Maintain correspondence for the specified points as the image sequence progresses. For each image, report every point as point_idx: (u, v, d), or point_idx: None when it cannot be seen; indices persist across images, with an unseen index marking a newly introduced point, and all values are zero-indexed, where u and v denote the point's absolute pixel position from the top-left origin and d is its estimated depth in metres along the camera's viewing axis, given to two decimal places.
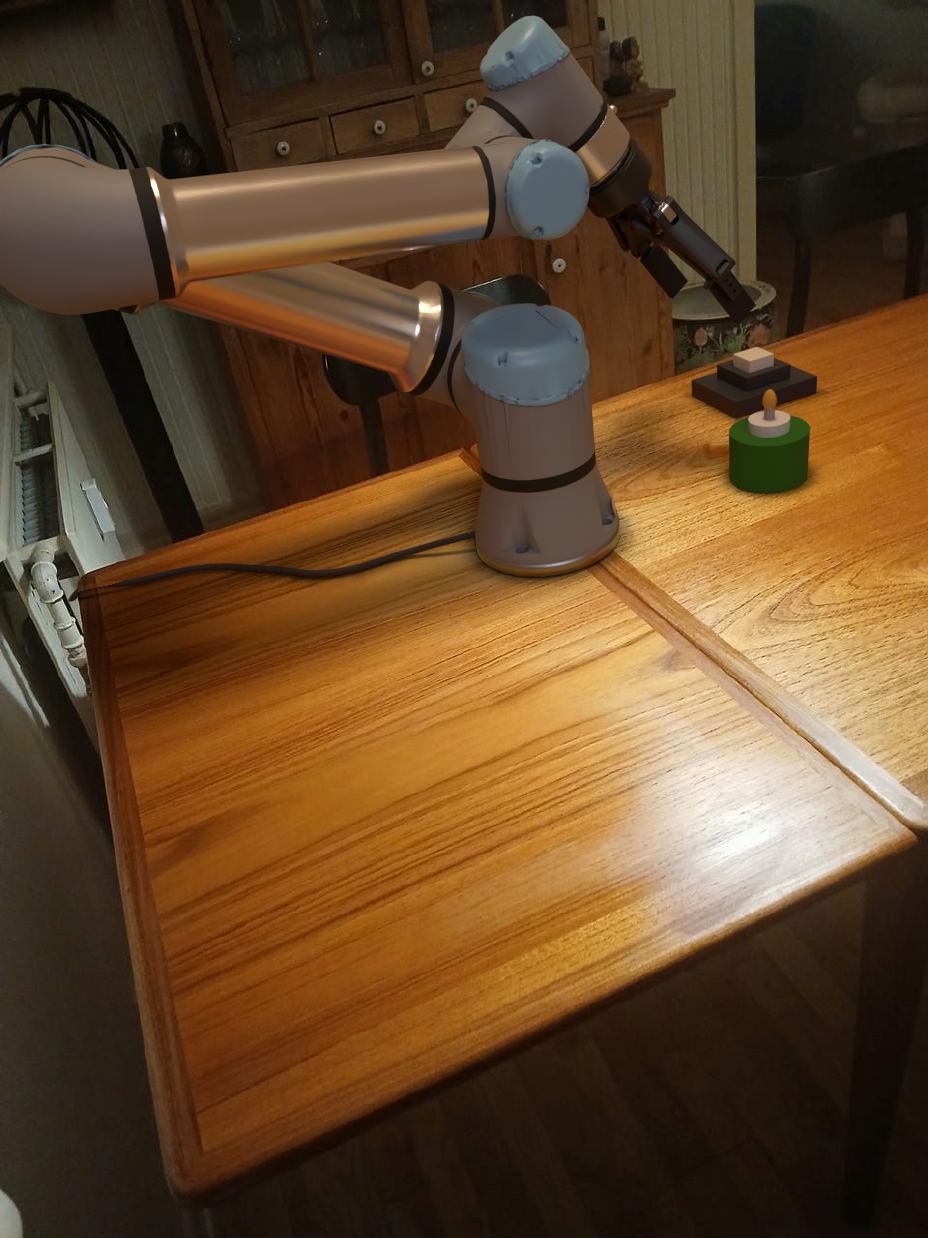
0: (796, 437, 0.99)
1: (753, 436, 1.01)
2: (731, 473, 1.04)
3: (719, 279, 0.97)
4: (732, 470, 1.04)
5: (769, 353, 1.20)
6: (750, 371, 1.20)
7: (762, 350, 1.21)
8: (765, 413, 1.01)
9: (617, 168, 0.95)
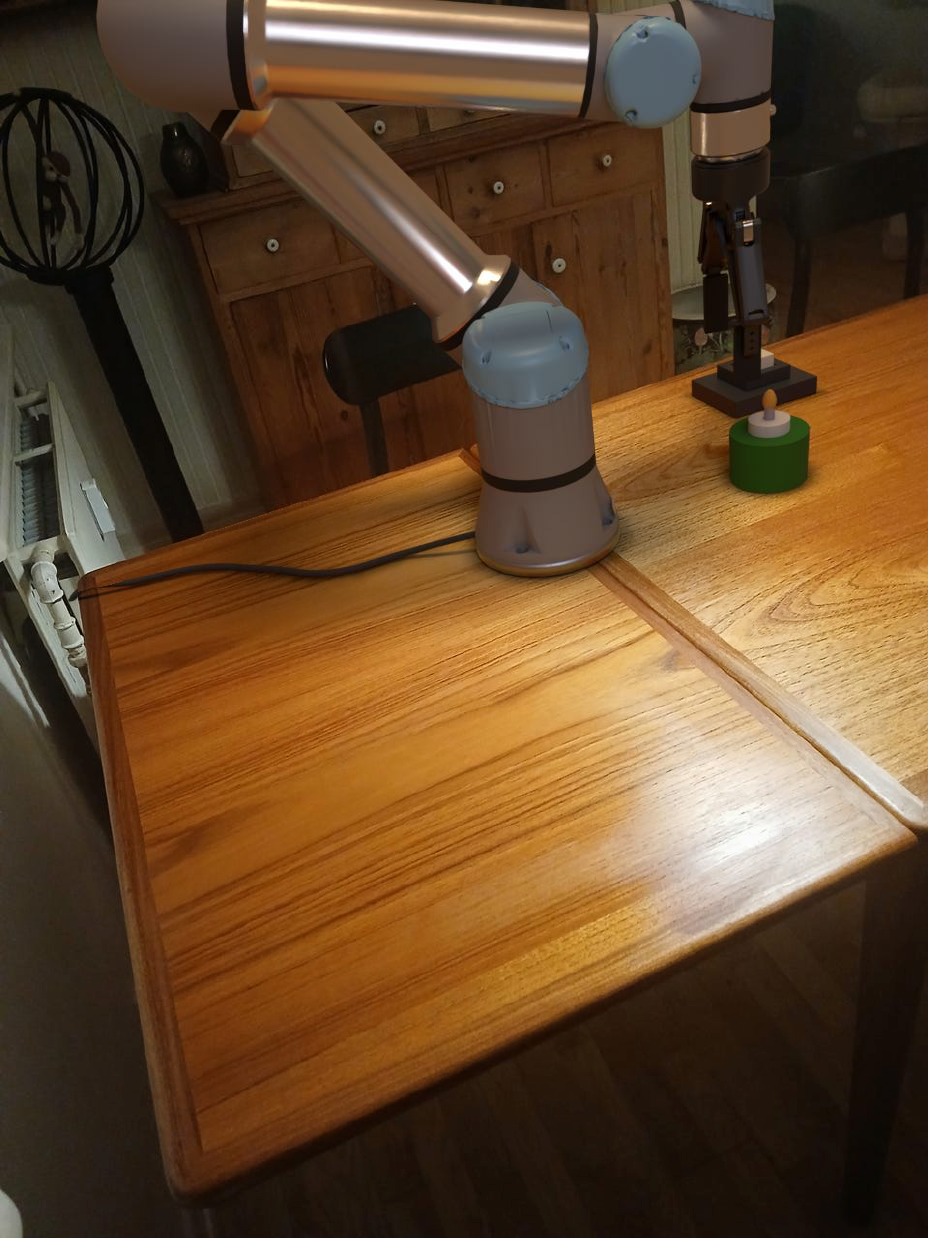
0: (796, 437, 0.99)
1: (753, 436, 1.01)
2: (731, 473, 1.04)
3: (745, 323, 0.94)
4: (732, 470, 1.04)
5: (769, 353, 1.20)
6: None
7: (762, 350, 1.21)
8: (765, 413, 1.01)
9: (736, 160, 0.91)
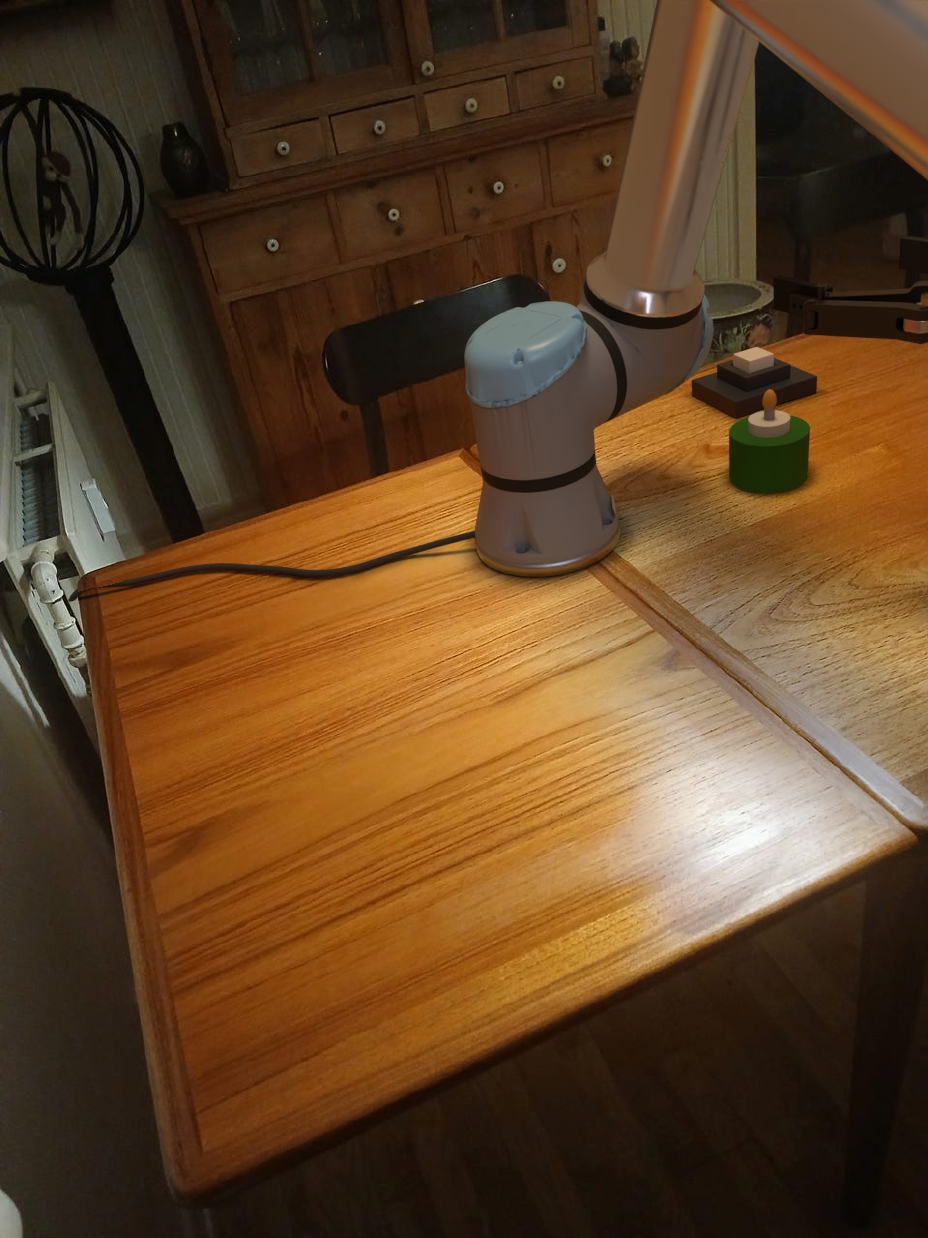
0: (796, 437, 0.99)
1: (753, 436, 1.01)
2: (731, 473, 1.04)
3: (805, 305, 0.75)
4: (732, 470, 1.04)
5: (769, 353, 1.20)
6: (750, 371, 1.20)
7: (762, 350, 1.21)
8: (765, 413, 1.01)
9: None
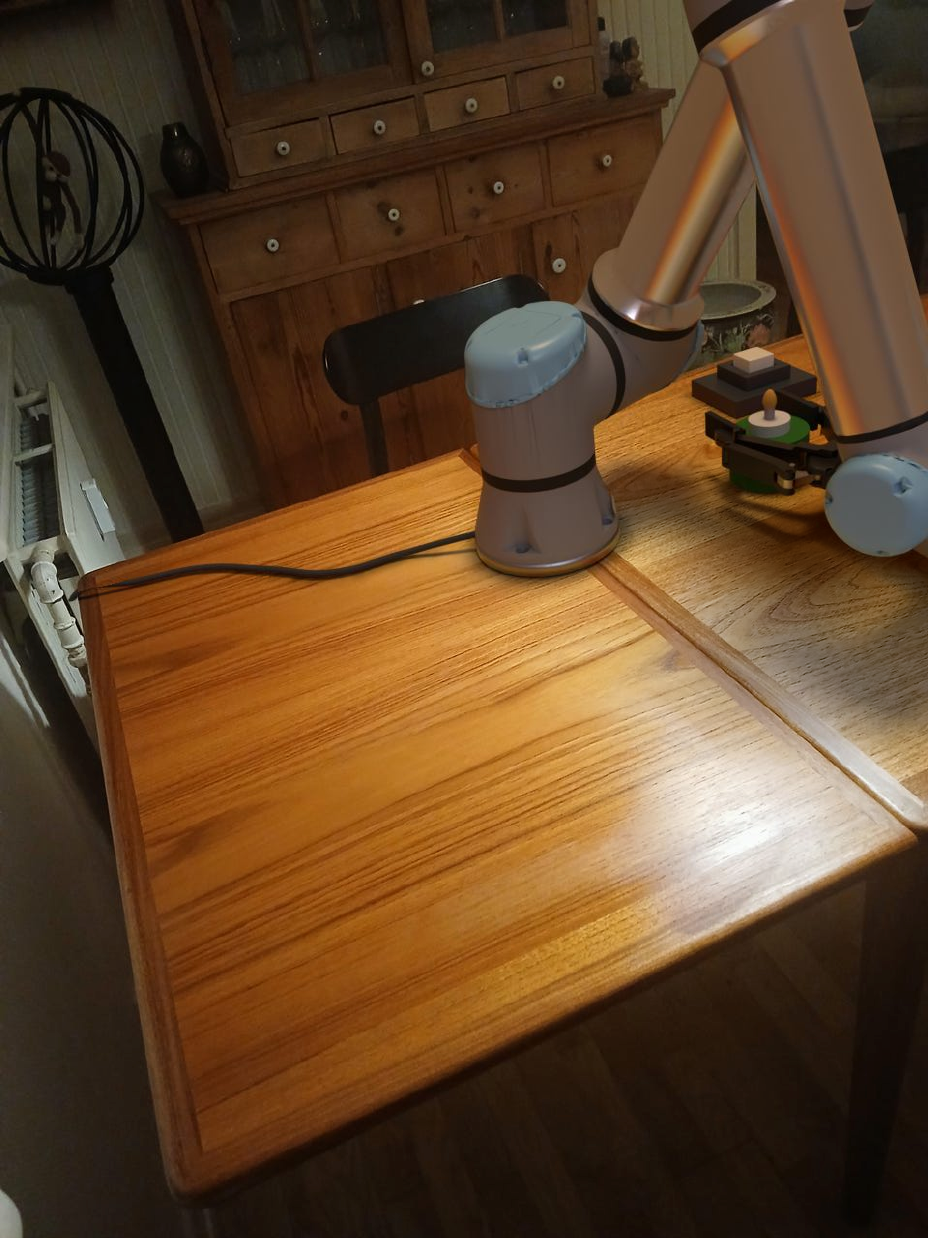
0: (797, 437, 0.99)
1: (753, 436, 1.01)
2: (731, 473, 1.04)
3: (721, 445, 0.97)
4: None
5: (769, 353, 1.20)
6: (750, 371, 1.20)
7: (762, 350, 1.21)
8: (765, 413, 1.01)
9: None
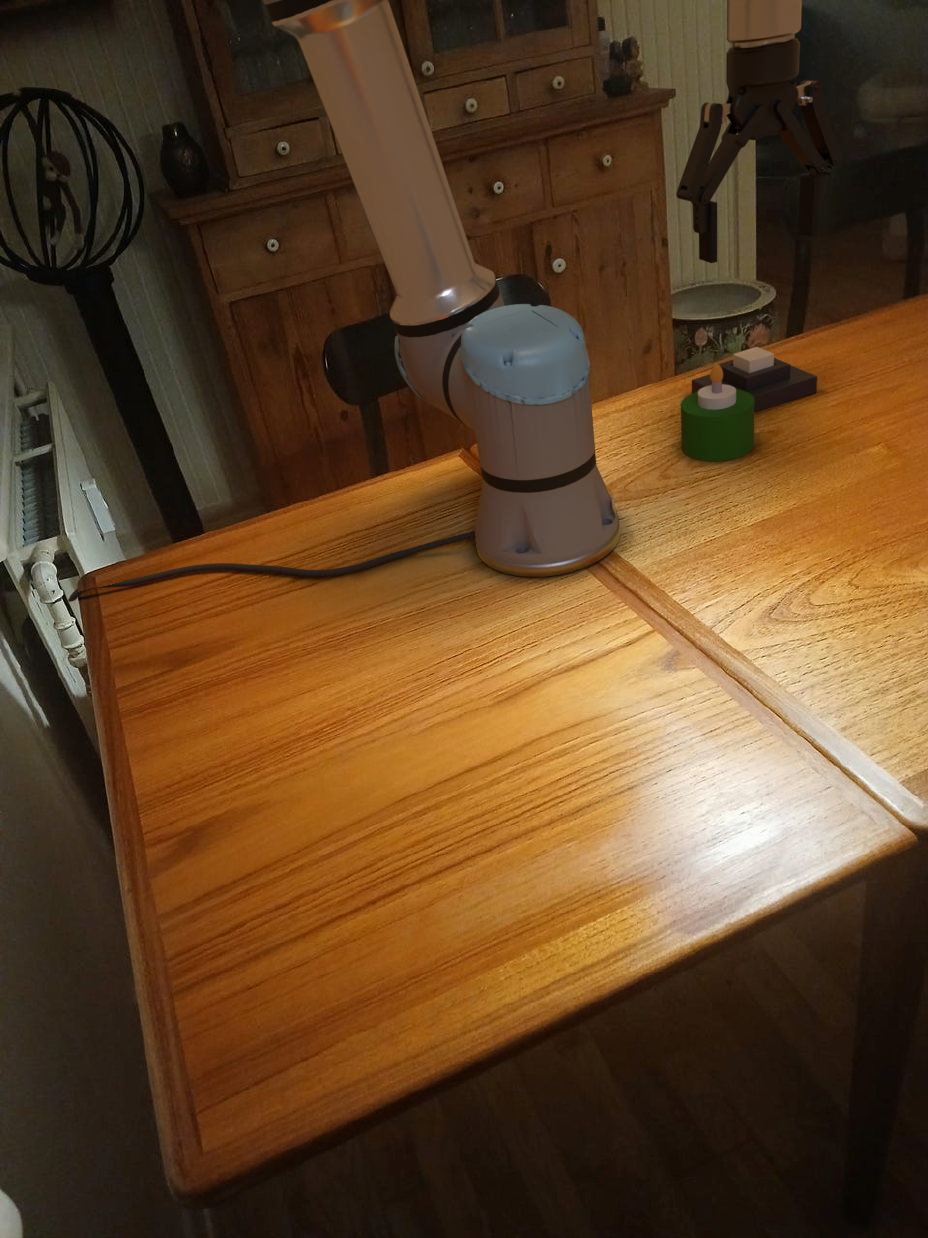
0: (741, 408, 1.07)
1: (702, 408, 1.09)
2: (683, 443, 1.12)
3: None
4: (684, 440, 1.12)
5: (769, 353, 1.20)
6: (750, 371, 1.20)
7: (762, 350, 1.21)
8: (713, 386, 1.09)
9: None
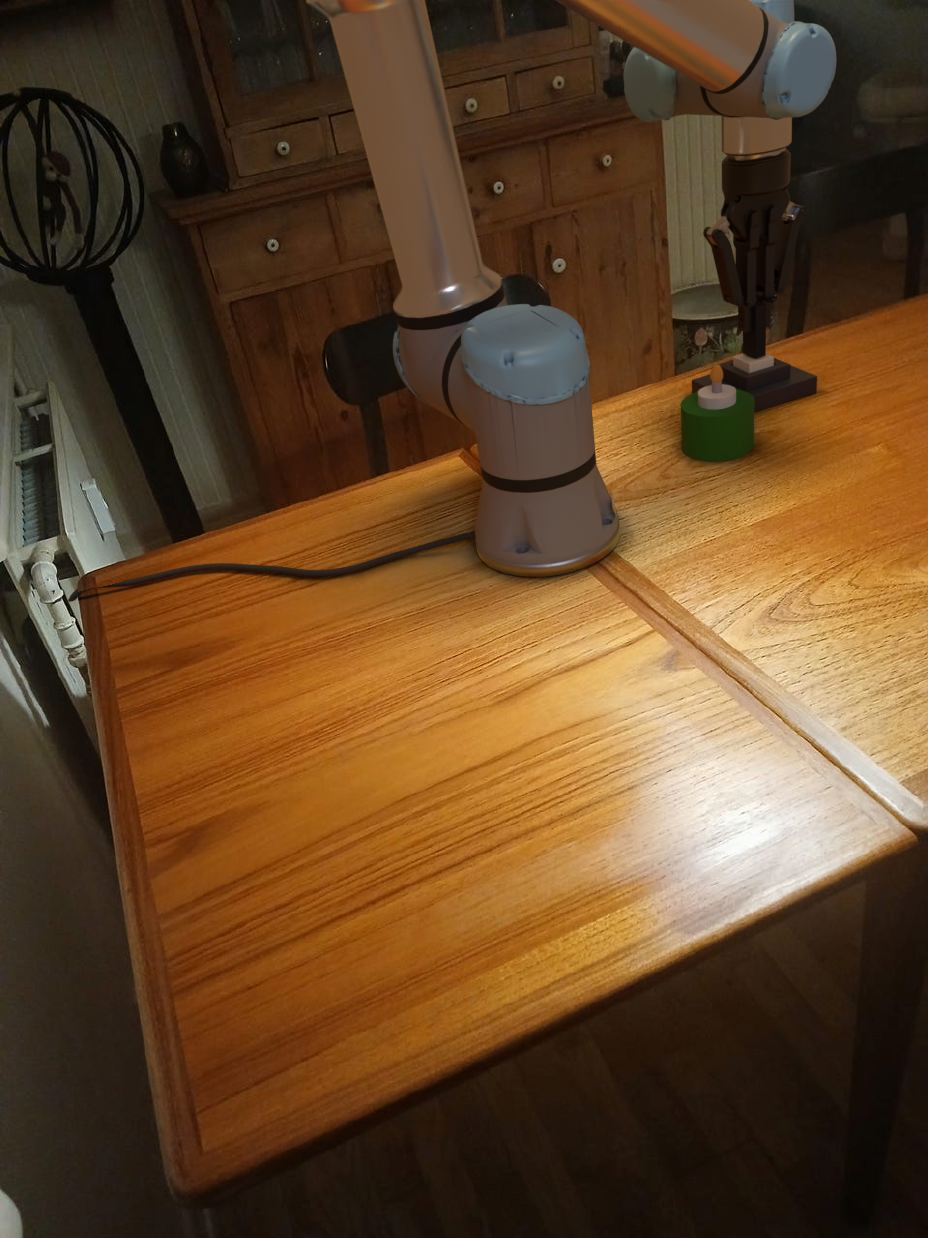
0: (741, 408, 1.07)
1: (702, 408, 1.09)
2: (683, 443, 1.12)
3: (784, 290, 1.16)
4: (684, 440, 1.12)
5: (769, 356, 1.20)
6: None
7: None
8: (713, 386, 1.09)
9: None
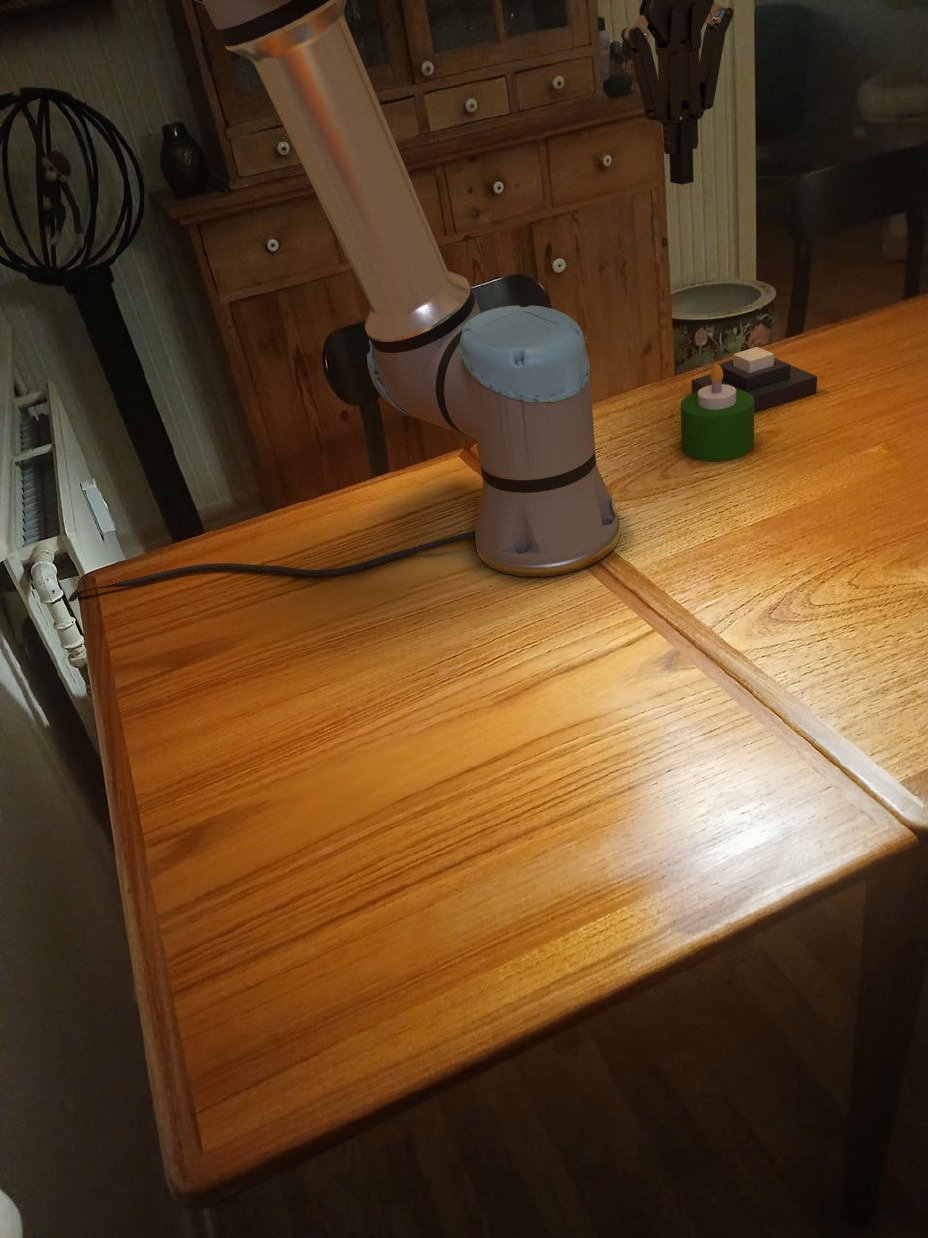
0: (741, 408, 1.07)
1: (702, 408, 1.09)
2: (683, 443, 1.12)
3: (711, 106, 1.08)
4: (684, 440, 1.12)
5: (769, 353, 1.20)
6: (750, 371, 1.20)
7: (762, 350, 1.21)
8: (713, 386, 1.09)
9: None
